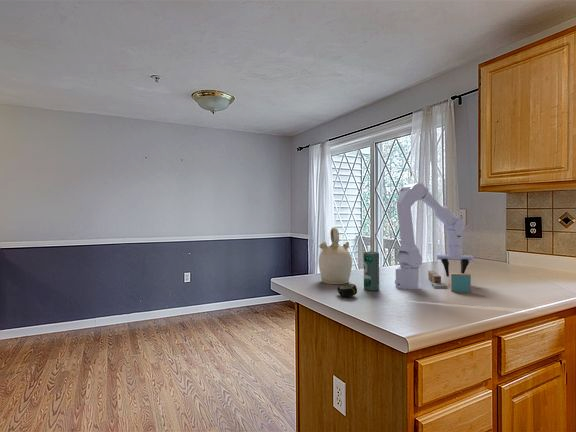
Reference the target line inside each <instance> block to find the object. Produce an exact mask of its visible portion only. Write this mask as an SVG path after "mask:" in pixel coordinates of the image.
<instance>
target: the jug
mask: <svg viewBox="0 0 576 432" xmlns="http://www.w3.org/2000/svg"><path fill="white" fill-rule="evenodd" d="M329 235H330V241H331V244H330V245H329V246H328V245H327V242H326V241H323V242H321V243H320V245H319V246H318V247H319V249H321V251H320V254H319V256H318V268H319V272H320V277H321V282H322V283H324V284H327V285H346V284H349V282H350V277H351V273H352V267H353V257H352V254H351V253H350V251H349V248H350V242H349V241H346V242H345V243H343V245H341V244H339V242H340V233H339V230H338V228H337V227H335V226H333V227H331V229H330V234H329Z"/></svg>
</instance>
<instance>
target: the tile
mask: <svg viewBox="0 0 576 432" xmlns="http://www.w3.org/2000/svg"><path fill="white" fill-rule="evenodd" d="M449 277H450V278H449V280H450V281H449V286H450V287H449V288H450V289H449V290H450V292H457V293H471V292H472V290H471V289H472V284H471V283H472V279H471V278H472V275H471V273H467V272H466V273H461V272H449Z"/></svg>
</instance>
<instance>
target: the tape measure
mask: <svg viewBox="0 0 576 432" xmlns="http://www.w3.org/2000/svg"><path fill="white" fill-rule="evenodd" d="M337 292H338V294H339V295H340V297H343V298H350V297H353V296H355V295H357V294H358V289H357V285H356V284H354V283H346V284H342V285H340V286H337Z"/></svg>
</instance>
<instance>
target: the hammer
mask: <svg viewBox="0 0 576 432" xmlns="http://www.w3.org/2000/svg"><path fill="white" fill-rule="evenodd" d="M427 272H428V278H427V279H428V281H429V282H430V283H431V286H432V287H433V289H441V290H442V289H445V290H447V289H448V285H447V284H446V283H442V276H441V275H440V274H439V273H438V272H436V271H435V270H428V271H427Z"/></svg>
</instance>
